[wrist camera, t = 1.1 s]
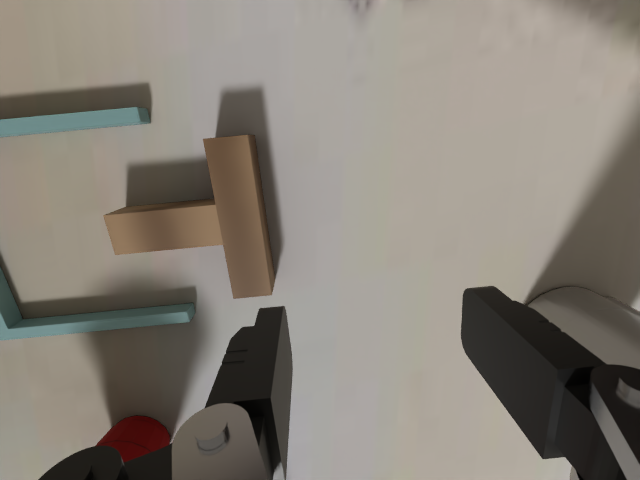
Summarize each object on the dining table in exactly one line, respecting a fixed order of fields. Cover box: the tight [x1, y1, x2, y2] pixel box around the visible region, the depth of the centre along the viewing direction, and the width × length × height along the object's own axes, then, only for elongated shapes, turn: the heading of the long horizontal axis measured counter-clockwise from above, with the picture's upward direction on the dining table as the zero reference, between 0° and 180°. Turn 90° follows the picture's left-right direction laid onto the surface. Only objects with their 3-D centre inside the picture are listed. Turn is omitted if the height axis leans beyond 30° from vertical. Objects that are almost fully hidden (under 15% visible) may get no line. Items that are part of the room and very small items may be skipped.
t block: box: [103, 135, 275, 299], centre depth 25 cm, size 11×12×3 cm
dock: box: [0, 107, 195, 340], centre depth 25 cm, size 16×17×2 cm
